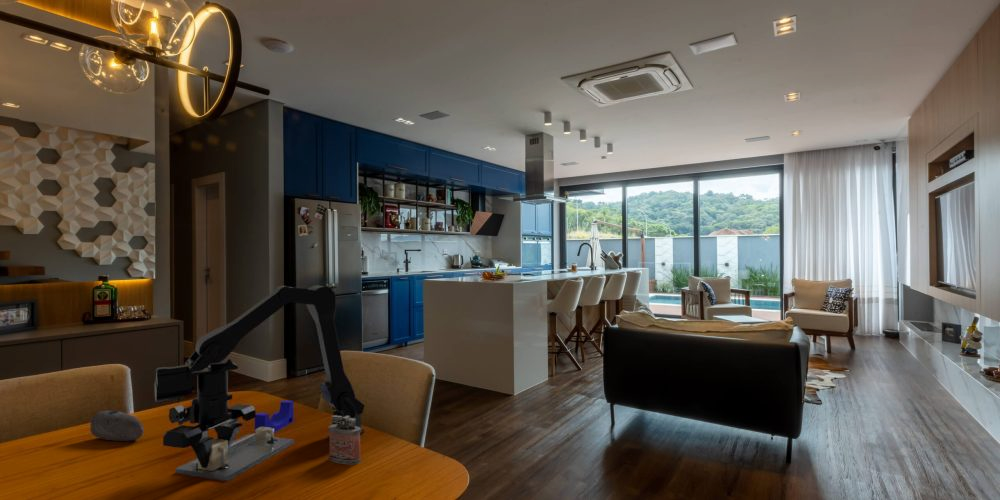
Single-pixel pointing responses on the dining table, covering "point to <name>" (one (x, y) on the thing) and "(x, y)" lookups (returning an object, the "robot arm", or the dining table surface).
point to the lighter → (344, 440)
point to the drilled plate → (241, 455)
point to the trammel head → (217, 455)
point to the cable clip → (277, 417)
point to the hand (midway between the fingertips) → (213, 463)
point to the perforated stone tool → (116, 426)
